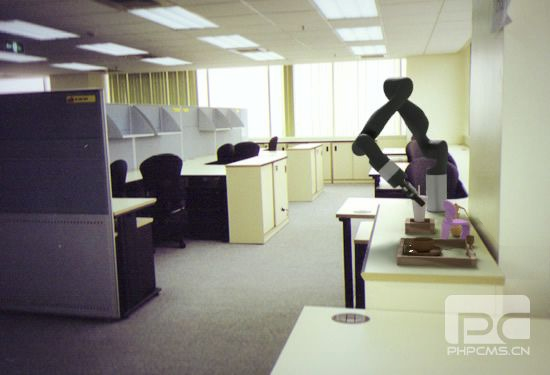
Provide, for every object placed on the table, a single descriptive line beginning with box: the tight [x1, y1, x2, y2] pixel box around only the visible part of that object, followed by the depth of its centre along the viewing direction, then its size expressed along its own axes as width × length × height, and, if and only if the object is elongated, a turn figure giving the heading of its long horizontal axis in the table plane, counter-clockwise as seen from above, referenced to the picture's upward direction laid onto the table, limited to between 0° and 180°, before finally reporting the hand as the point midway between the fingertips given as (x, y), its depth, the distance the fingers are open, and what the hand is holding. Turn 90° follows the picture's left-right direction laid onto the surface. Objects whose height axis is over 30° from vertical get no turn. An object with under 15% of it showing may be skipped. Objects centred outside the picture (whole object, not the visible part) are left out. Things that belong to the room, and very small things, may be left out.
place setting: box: [404, 234, 476, 257], centre depth 161 cm, size 18×20×6 cm
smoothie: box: [411, 184, 428, 222], centre depth 195 cm, size 6×6×14 cm
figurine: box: [444, 202, 469, 237], centre depth 186 cm, size 8×6×12 cm
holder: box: [404, 217, 436, 235], centre depth 197 cm, size 11×11×4 cm
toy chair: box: [439, 199, 471, 239], centre depth 176 cm, size 8×9×15 cm
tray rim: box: [396, 237, 477, 268], centre depth 161 cm, size 25×22×2 cm
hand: (423, 203), depth 195 cm, fingers closed on smoothie, 6 cm apart
